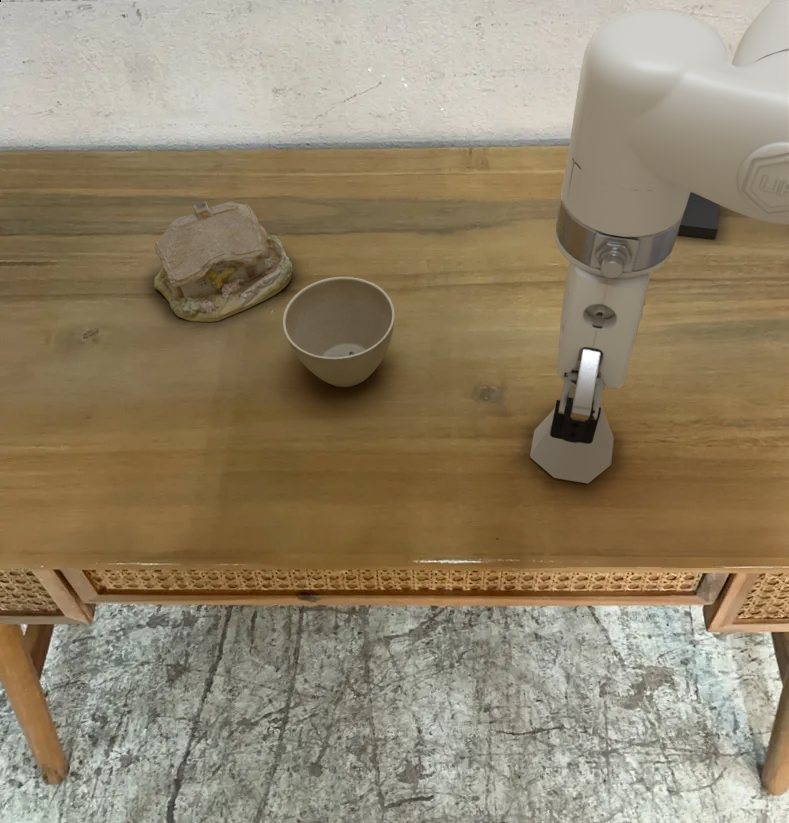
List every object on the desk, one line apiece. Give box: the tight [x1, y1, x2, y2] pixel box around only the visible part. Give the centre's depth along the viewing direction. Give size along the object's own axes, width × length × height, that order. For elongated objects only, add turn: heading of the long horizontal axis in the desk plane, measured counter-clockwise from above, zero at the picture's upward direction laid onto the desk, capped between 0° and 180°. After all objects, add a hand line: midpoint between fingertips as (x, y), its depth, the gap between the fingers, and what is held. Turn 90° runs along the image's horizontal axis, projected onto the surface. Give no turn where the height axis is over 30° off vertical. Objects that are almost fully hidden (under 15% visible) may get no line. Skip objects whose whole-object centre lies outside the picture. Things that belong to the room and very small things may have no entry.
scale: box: [677, 192, 720, 240], centre depth 92 cm, size 15×13×3 cm
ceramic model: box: [153, 200, 293, 323], centre depth 84 cm, size 14×11×10 cm
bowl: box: [282, 276, 396, 388], centre depth 77 cm, size 10×10×7 cm
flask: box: [529, 361, 615, 484], centre depth 69 cm, size 7×7×10 cm
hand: (578, 389), depth 66 cm, fingers open, 9 cm apart
